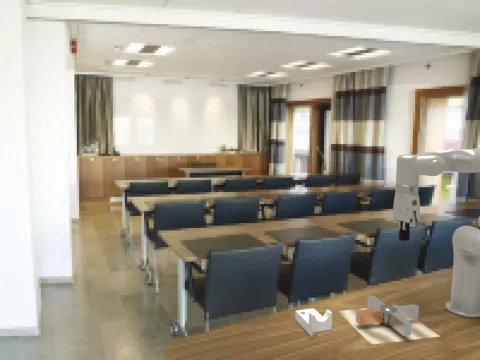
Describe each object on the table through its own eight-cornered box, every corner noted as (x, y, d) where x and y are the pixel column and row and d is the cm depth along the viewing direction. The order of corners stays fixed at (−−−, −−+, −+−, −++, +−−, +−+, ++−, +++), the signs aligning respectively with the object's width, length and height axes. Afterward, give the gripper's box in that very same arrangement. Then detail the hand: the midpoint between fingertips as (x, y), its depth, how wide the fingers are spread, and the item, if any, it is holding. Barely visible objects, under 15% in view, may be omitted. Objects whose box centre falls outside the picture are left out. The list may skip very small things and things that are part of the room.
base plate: (397, 309, 159) (397, 304, 159) (440, 340, 136) (440, 335, 135) (337, 315, 154) (337, 310, 154) (371, 348, 131) (371, 343, 130)
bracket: (331, 334, 140) (332, 312, 139) (311, 337, 138) (312, 315, 137) (313, 317, 152) (314, 297, 151) (295, 320, 150) (295, 299, 149)
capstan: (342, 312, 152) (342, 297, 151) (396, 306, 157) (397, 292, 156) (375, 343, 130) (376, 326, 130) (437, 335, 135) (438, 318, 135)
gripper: (429, 192, 145) (426, 245, 147) (403, 186, 159) (401, 234, 161) (409, 193, 143) (407, 246, 145) (385, 186, 158) (383, 235, 160)
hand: (404, 239), depth 153 cm, fingers closed
